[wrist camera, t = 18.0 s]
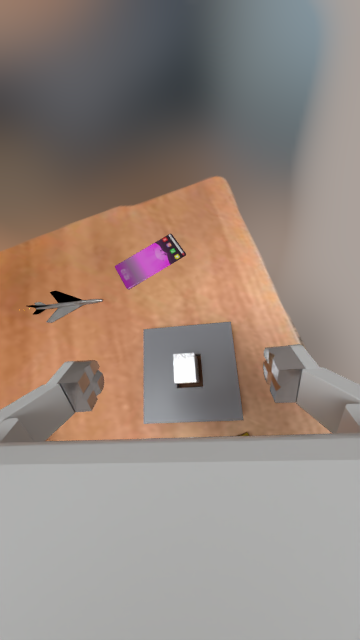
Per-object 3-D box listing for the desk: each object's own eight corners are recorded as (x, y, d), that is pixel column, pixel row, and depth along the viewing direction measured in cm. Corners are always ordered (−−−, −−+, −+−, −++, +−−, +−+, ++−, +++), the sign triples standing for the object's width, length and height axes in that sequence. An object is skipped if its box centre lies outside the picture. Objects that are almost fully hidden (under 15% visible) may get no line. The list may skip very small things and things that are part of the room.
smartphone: (186, 257, 47) (186, 254, 46) (128, 291, 46) (127, 289, 45) (171, 235, 49) (170, 232, 48) (115, 267, 48) (113, 265, 47)
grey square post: (199, 382, 38) (196, 382, 28) (183, 383, 38) (174, 383, 29) (197, 359, 39) (193, 351, 30) (182, 360, 39) (173, 353, 30)
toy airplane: (104, 317, 45) (98, 314, 43) (15, 327, 47) (6, 324, 45) (105, 285, 47) (100, 280, 45) (21, 296, 49) (12, 292, 47)
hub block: (240, 417, 35) (243, 420, 32) (148, 420, 37) (143, 423, 34) (229, 326, 40) (230, 321, 37) (148, 333, 42) (143, 329, 39)
